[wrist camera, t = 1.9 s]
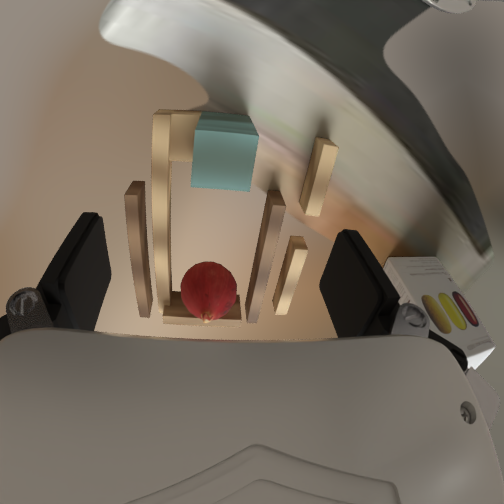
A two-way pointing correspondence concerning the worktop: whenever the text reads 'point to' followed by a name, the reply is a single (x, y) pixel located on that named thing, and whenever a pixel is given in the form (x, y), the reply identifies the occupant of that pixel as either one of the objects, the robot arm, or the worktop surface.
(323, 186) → the broken strip
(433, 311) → the supplement box
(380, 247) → the worktop surface
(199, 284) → the onion
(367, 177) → the worktop surface
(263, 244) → the lane rails
